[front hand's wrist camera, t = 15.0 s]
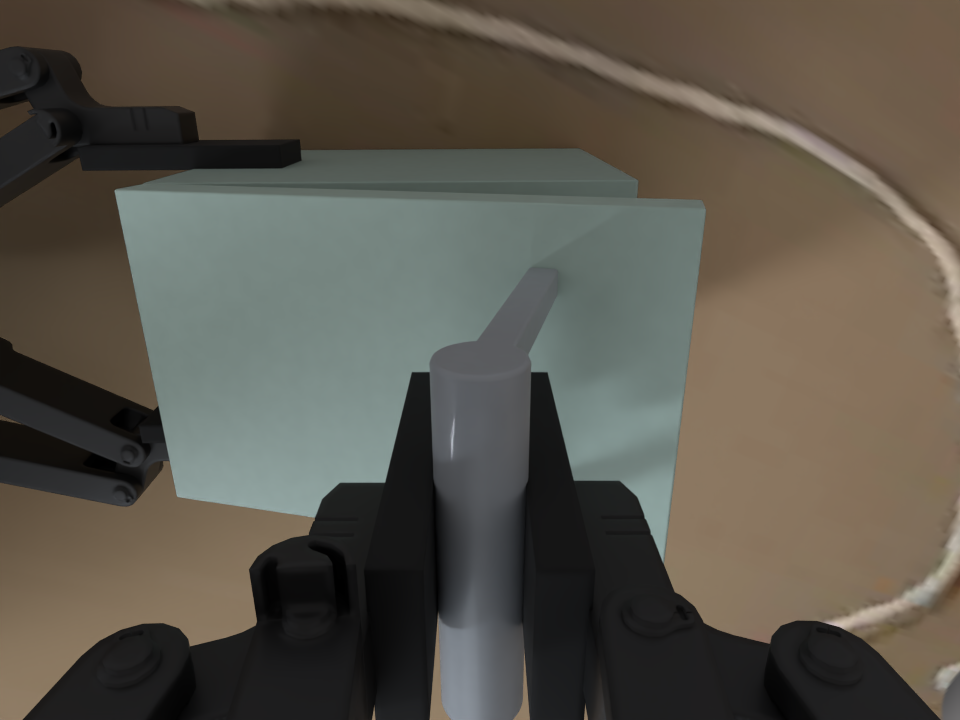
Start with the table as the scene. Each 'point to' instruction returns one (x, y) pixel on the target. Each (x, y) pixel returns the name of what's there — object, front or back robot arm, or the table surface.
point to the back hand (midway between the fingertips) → (306, 295)
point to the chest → (433, 172)
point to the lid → (418, 364)
